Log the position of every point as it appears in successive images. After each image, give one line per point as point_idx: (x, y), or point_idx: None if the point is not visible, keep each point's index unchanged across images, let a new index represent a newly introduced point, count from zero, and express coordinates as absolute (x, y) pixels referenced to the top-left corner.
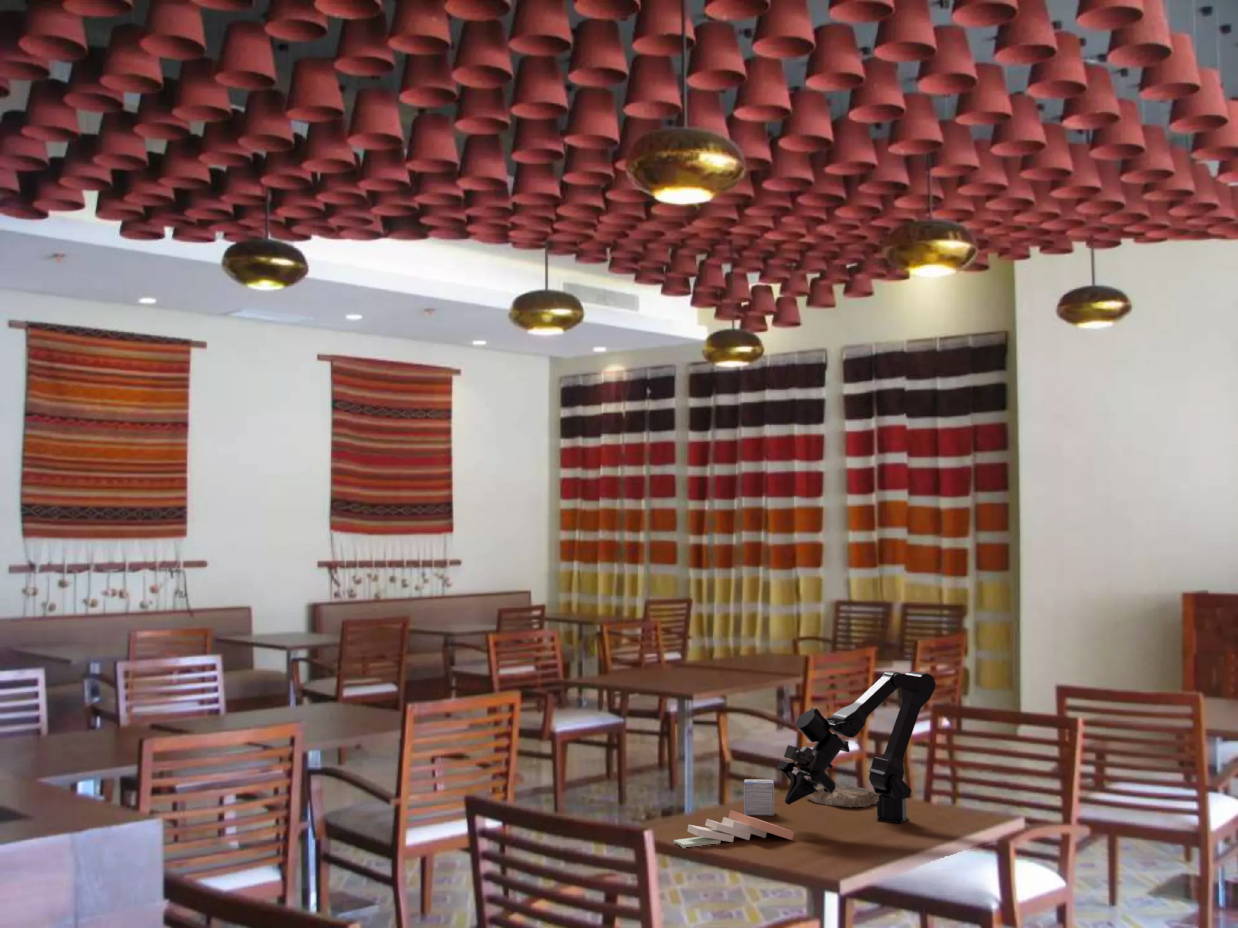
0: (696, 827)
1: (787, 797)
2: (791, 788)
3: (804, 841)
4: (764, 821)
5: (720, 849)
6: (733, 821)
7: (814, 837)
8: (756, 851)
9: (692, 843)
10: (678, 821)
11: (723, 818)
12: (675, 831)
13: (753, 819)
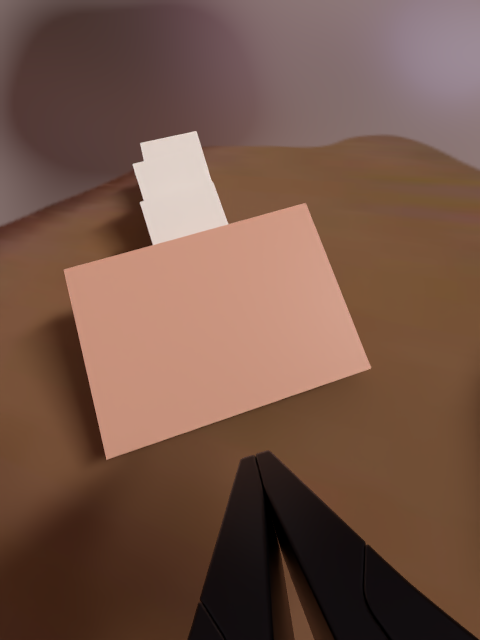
0: (164, 143)
1: (263, 479)
2: (311, 588)
3: (75, 501)
4: (288, 354)
5: (108, 219)
6: (147, 202)
7: (125, 602)
8: (42, 288)
9: None
10: (433, 173)
11: (210, 186)
12: (312, 162)
13: (128, 255)
